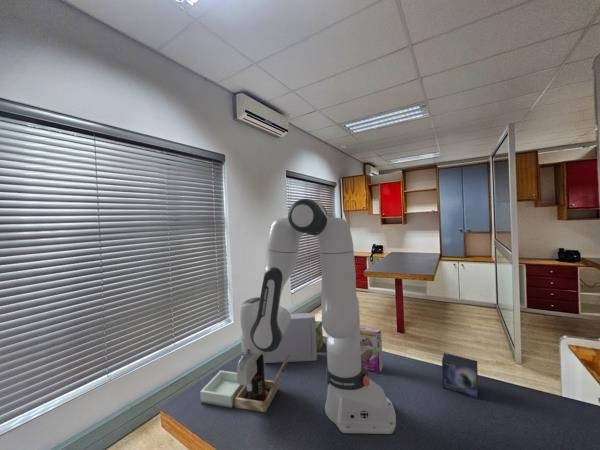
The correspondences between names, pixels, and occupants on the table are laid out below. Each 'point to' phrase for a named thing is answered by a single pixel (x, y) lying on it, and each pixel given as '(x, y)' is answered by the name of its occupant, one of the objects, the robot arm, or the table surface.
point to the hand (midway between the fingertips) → (256, 380)
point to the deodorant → (258, 382)
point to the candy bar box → (371, 349)
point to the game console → (297, 341)
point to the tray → (221, 389)
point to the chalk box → (319, 335)
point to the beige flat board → (277, 378)
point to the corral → (254, 404)
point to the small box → (460, 375)
